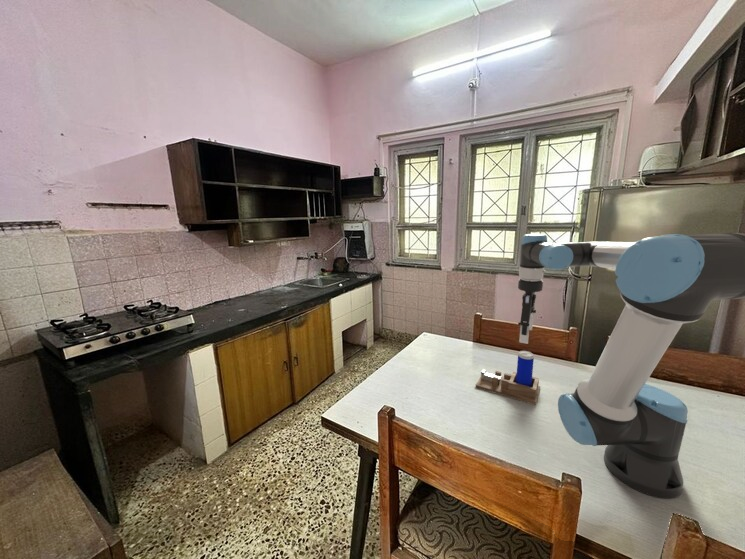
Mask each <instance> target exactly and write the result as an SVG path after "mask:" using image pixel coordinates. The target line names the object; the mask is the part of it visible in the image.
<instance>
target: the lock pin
mask: <svg viewBox="0 0 745 559" xmlns="http://www.w3.org/2000/svg"><path fill="white" fill-rule="evenodd" d="M490 373H491V372H488V373H487V369H484V368H482V370H481V372H480V377H481V380H484V381H488V382H491V383H492V377H493V376H495V377H498V384H500V382H501V376H502V375H501V376H498V375H494V374H495V373H492V374H490Z"/></svg>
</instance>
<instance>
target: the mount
mask: <svg viewBox="0 0 745 559" xmlns="http://www.w3.org/2000/svg"><path fill="white" fill-rule="evenodd" d="M486 372H487V371H486ZM487 373H490V374H494V375H498V376H501V382H500V384H498V377H495V376H493V377H492V383H491V382H488V381H484V380H481V376H480V377H479V379H478V380H477V382H476V384H475V388H477V389H479V390H480V389H481V390H483V391H488V392H490V393H493V394H496V395H501V396H504V397H507V398H510V399H514V400H517V401H521V402H524V403H526V404H530V405H534V406H536V405H537V402H538V397H539V393H540V390H541V386H540V385H539V384H540V378H539V377H537V376H532V384H531V387H529V386H526V385H522V384H518V383H516V377H517V371H513V372H512V373H511V374H510V373H506V372H504V373H503V375H502V371H499V370H495V372H494V373H492V372H487Z"/></svg>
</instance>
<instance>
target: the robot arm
mask: <svg viewBox="0 0 745 559" xmlns="http://www.w3.org/2000/svg"><path fill="white" fill-rule="evenodd" d="M573 267H575V268H576V267H595V268H603V269H604V268H605V269H611V270H614V275H615V276H617V278H616V279H615V283H616V287H617V288H618V290H619V292H620V298H621V299H622V301H623V302H624V303H625V305H624V308H623V309H622V312H621V313H620V316H619V318H618V319H617V322H616V324H615V326H614V328H613V330H612V332H611V334H610V336H609V338H608V340H607V342H606V344H605V347H604V349H603V351H602V353H601V355H600V357H599V359H598V361H597V363H596V365H595V366H594V368H593V372H592V374H591V375H590V377H589V378H586V379H583V380H581V381H580V382H578V384H577V386H576V388H575V391H574V392H573V393H569V392H566V393H564V394H561V395H560V396H559V397H558V399H557V400H558V401H557V410H558V414H559V417H560V420H561V422H562V425H563V427H564V429H565V431H566V433H567V434H568V435H569V436H570V437H571V439H572V440H574V442H576V443H578V444H580V445H583V446H592V447H596V446H605V449H604V454H603V461H604V464H605V466H606V467H607V469H608V470H609V471H610V472H611V473H612V474H613V476H615V477H616V478H617V479H618V480H619V481H621V482H622V483H624V484H626V485H627V486H629V487H631V488H632V489H634V490H636V491H638V492H640V493H643V494H645V495H648V496H651V497H654V498H659V499H674V498H677V497H679V496H680V495H682V492H683V488H684V478H683V474H682V470H681V466H680V462H679V455H680V451H681V446H682V443H683V439H684V435H685V431H686V430H685V428H686V426H687V424H688V407H687V405H686V404H685V402H683V401H682V400H681V399H680V398H678V397H677V396H676V395H674V394H672V393H670V392H668V391H666V390H664V389H661V388H658V387H656V386H653V385H649V384H647V381H648V380H649V378H650V377H651V375H652V374H653V371H654V370H655V369H656V367H657V365H658V364H659V362H660V361H661V359H662V357H663V356H664V354H665V353H666V351H667V350H668V348H669V346H670V345H671V343H672V342H673V341H674V339H675V337H676V335H677V334H678V333H679V331H680V329H681V327H682V326H683V324H690V323H694V322H695V323H696V322H698V321H699V320H701V318H702V317H703V315H704V314H705V312H706V311H707V309H708V308H709V306H710V304H712V302H713V301H721V300H723V301H724V300H739V299H745V233H743V232H742V233H740V232H725V233H700V234H699V233H697V234H682V233H680V234H679V233H671V234H662V235H657V236H650V237H645V238H642V239H641V240H637V241H607V240H596V241H582V242H581V241H580V242H579V241H577V242H575V241H574V242H573V241H571V242H548V236H547V235H546V234H545V233H544V234H543V233H527V234H524V235H523V236H522V239H521V244H520V259H519V267H518V268H519V269H518V271H519V272H518V277H519V279H518V283H517V284H518V285H517V288H518V290H520V291H524V293H523V295H522V302H521V307H522V308H521V314H520V315H521V317H520V322H517V323H518V326H519V341H518V343H521V344H527V345H528V344H529V336H530V331H533V325H534V316H535V314H536V313H537V310H536V309H535V303H536V298H537V294H536V293H538V292H542V291H543V287H544V285H543V284H544V280H543V279H544V274H546V273H547V271H546V270H545V268H546V269H549V270H554V271H555V270H557V271H559V270H560V271H561V270H564V269H566V268H573Z"/></svg>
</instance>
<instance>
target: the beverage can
mask: <svg viewBox="0 0 745 559" xmlns="http://www.w3.org/2000/svg"><path fill="white" fill-rule="evenodd" d="M517 354H518V355H517V364H516V365H517V366H516V373H517V377H516V383H518V384H522V385H526V386H529V387H531V384H532V377H533V372H534V371H533V370H534V359H535V358H534V353H532V352H531V351H529V350H520V351H519V352H518V353H517Z"/></svg>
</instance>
